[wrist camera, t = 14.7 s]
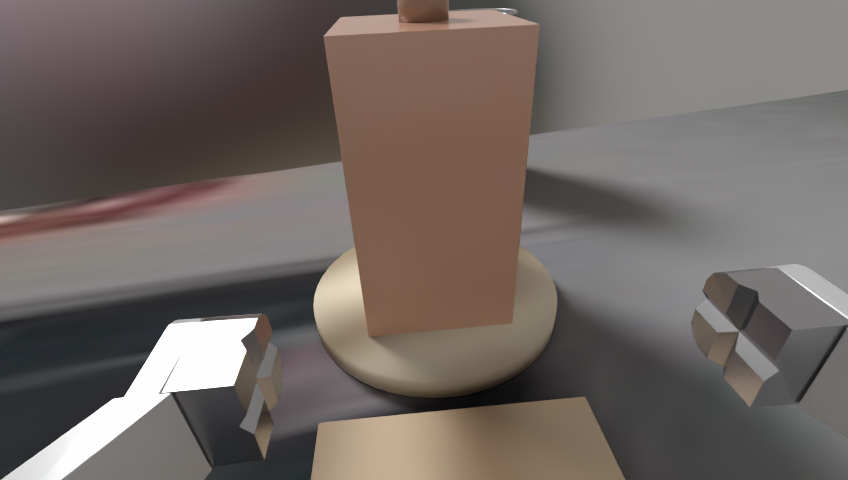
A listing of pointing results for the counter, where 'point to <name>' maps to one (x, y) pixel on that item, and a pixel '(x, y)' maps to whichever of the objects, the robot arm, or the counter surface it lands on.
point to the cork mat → (470, 445)
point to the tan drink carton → (434, 159)
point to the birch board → (434, 337)
